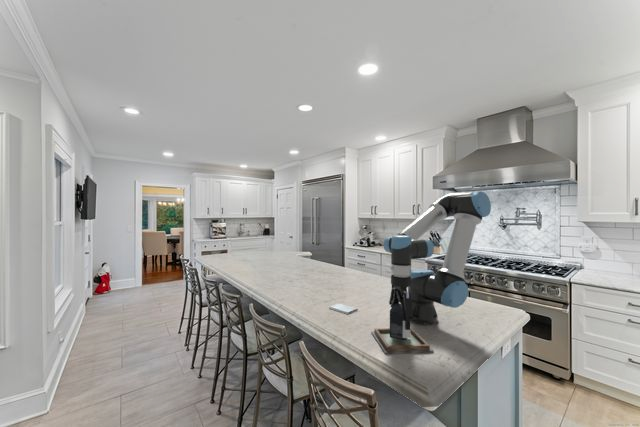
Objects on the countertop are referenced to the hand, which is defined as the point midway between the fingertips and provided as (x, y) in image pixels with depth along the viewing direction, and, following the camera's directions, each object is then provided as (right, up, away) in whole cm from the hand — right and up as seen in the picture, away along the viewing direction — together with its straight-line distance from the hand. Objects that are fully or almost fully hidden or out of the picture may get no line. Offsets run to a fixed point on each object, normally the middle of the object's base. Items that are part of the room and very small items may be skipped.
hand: (400, 330), depth 109 cm
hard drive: (-19, -5, +36) cm, 41 cm away
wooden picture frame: (0, -4, 0) cm, 4 cm away
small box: (0, -2, 0) cm, 2 cm away
